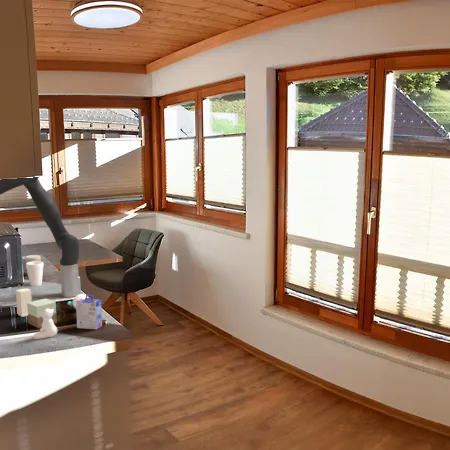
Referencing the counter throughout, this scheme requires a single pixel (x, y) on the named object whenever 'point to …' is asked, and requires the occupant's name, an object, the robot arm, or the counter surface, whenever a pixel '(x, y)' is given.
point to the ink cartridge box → (89, 313)
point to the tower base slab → (40, 320)
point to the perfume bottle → (77, 299)
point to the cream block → (23, 301)
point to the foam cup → (35, 272)
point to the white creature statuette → (47, 325)
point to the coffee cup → (32, 258)
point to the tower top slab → (40, 307)
